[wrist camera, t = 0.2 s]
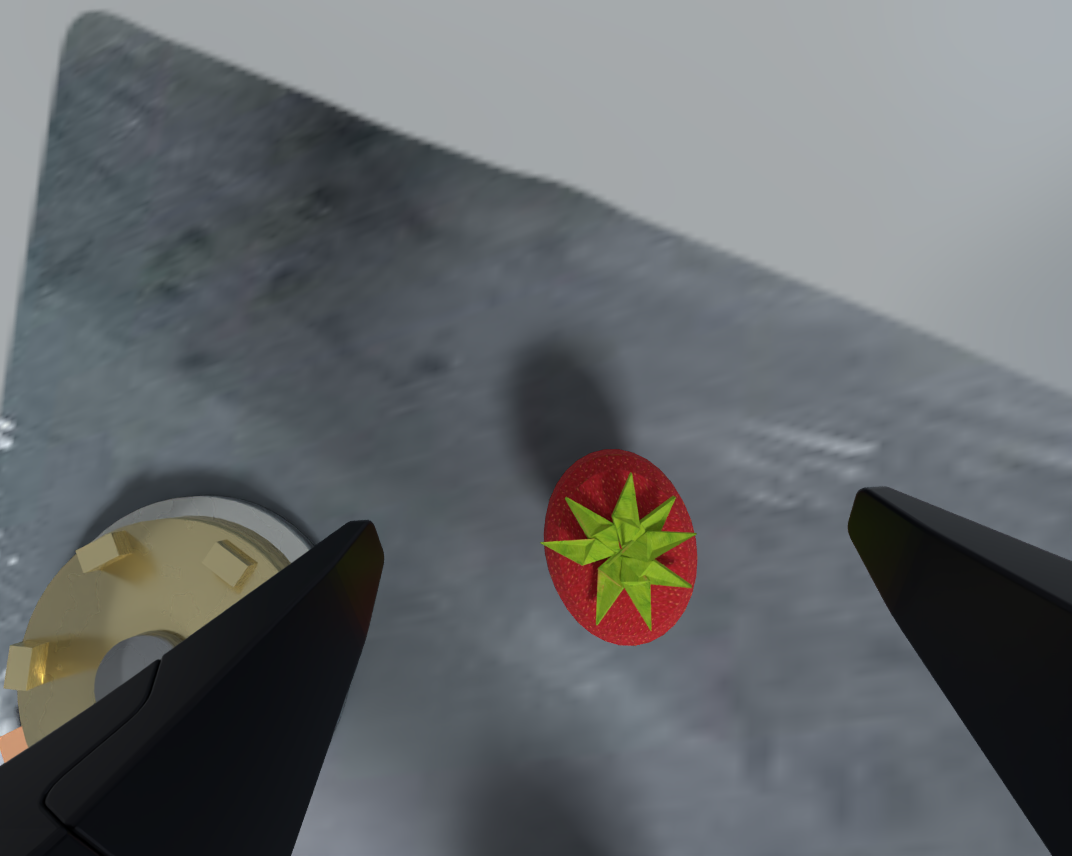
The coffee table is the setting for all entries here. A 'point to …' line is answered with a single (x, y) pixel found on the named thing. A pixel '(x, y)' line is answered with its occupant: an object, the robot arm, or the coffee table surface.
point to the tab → (12, 744)
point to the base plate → (271, 526)
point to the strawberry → (620, 547)
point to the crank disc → (128, 605)
